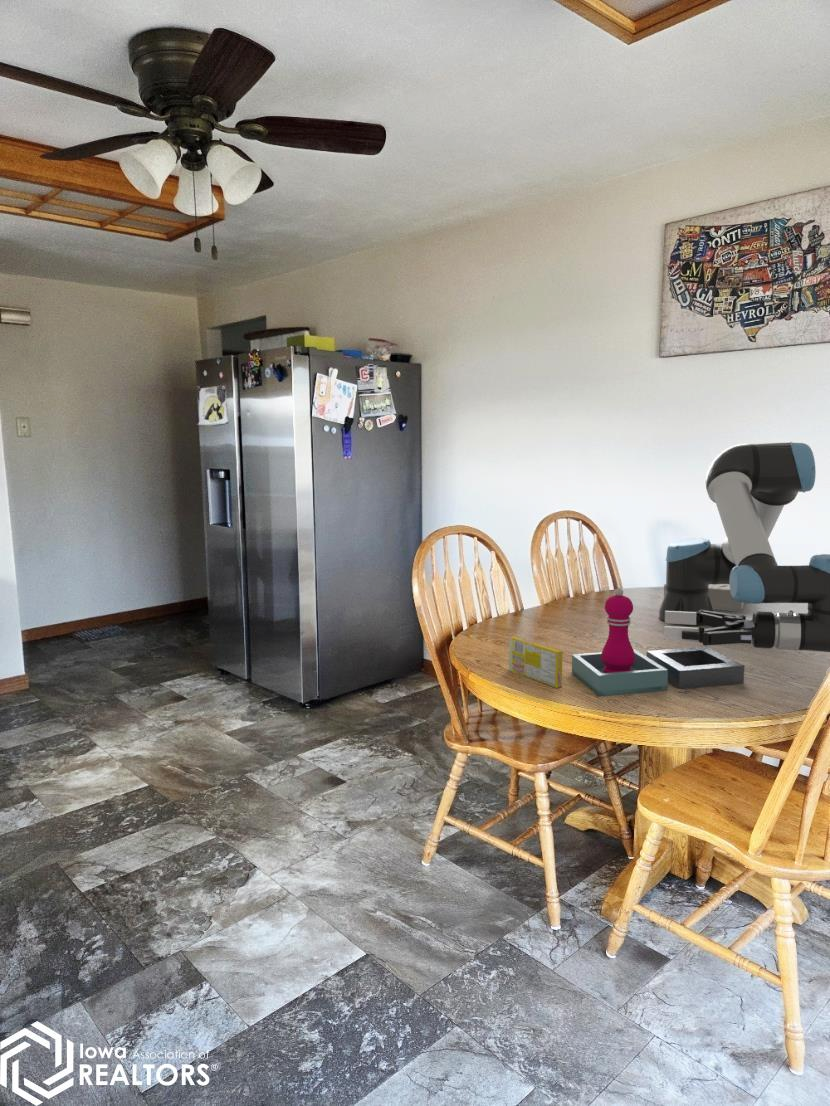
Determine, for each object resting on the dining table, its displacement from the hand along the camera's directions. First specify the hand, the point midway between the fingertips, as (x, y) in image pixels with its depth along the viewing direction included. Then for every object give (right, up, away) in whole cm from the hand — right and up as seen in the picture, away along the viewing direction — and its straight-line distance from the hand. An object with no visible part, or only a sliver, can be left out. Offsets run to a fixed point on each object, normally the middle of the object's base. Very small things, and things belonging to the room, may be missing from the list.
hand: (664, 624), depth 153 cm
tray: (-9, -13, +5) cm, 17 cm away
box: (+44, 0, +82) cm, 93 cm away
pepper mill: (-9, -12, +5) cm, 16 cm away
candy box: (-26, -13, +9) cm, 31 cm away
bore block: (+9, -12, +8) cm, 17 cm away
